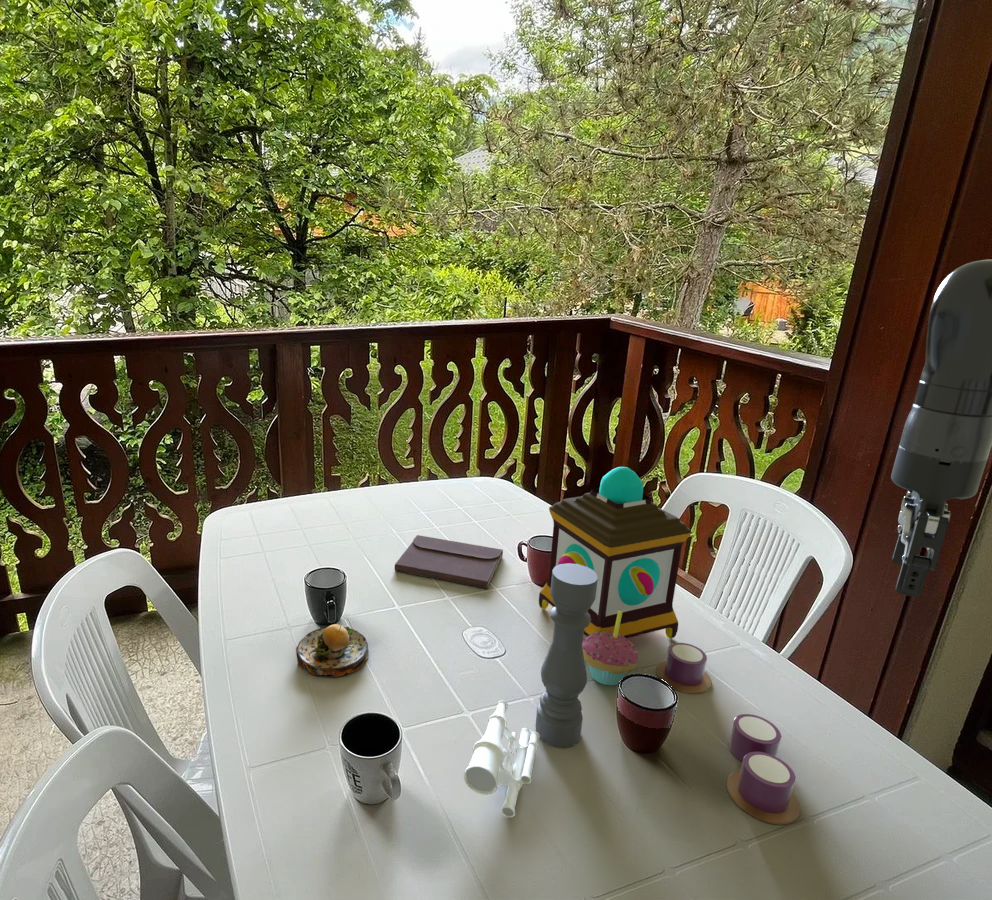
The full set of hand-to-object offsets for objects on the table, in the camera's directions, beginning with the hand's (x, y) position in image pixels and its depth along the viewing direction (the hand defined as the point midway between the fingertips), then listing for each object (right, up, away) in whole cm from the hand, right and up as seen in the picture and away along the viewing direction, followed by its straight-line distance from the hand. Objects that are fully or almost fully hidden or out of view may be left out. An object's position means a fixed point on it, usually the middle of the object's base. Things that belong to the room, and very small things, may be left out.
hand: (904, 578), depth 75 cm
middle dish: (-12, -26, +11) cm, 31 cm away
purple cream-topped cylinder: (-14, -21, +26) cm, 36 cm away
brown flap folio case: (-48, -9, +61) cm, 79 cm away
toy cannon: (-46, -27, +8) cm, 54 cm away
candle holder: (-37, -25, +15) cm, 47 cm away
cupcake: (-26, -21, +26) cm, 43 cm away
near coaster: (-14, -28, +4) cm, 32 cm away
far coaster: (-14, -21, +26) cm, 36 cm away
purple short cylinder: (-14, -28, +4) cm, 32 cm away
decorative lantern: (-22, -16, +41) cm, 49 cm away
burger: (-70, -19, +31) cm, 79 cm away
